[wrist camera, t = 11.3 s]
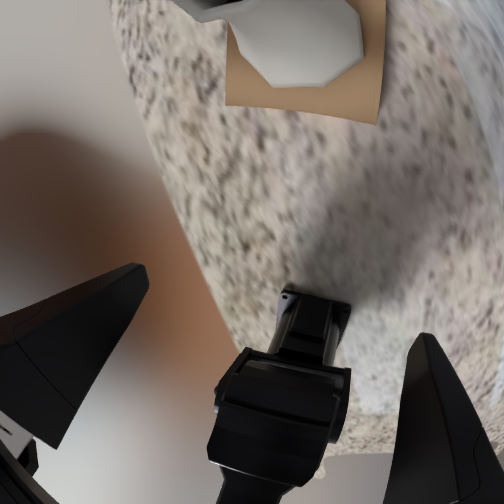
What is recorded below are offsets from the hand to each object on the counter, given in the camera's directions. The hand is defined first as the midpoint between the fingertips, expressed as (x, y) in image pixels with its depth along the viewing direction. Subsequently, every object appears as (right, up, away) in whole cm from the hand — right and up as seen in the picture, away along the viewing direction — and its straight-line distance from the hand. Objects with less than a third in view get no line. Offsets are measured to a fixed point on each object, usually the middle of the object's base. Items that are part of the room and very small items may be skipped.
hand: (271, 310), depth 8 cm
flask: (+2, +14, +4) cm, 14 cm away
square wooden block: (+3, +15, +6) cm, 16 cm away
